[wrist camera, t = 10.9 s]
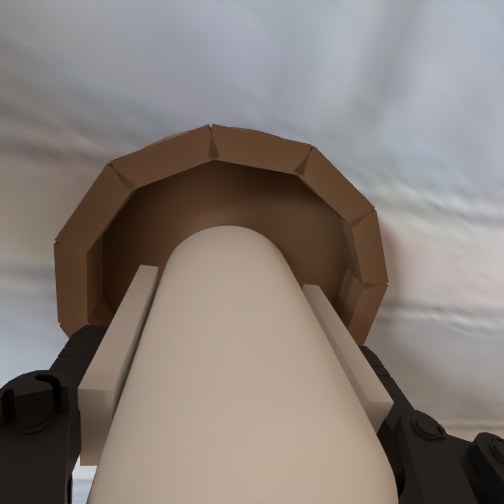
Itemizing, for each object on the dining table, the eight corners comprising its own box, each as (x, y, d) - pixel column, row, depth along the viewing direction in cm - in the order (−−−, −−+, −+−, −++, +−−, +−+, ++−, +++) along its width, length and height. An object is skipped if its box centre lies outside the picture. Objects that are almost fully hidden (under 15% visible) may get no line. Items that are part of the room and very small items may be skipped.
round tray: (84, 368, 18) (61, 412, 15) (78, 93, 13) (41, 85, 10) (317, 381, 21) (333, 421, 18) (397, 160, 15) (438, 168, 13)
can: (197, 198, 14) (138, 487, 3) (310, 256, 16) (532, 565, 5) (143, 306, 16) (-18, 726, 5) (250, 346, 18) (309, 715, 7)
